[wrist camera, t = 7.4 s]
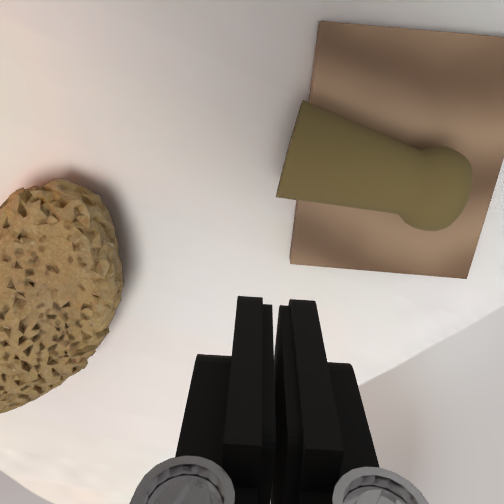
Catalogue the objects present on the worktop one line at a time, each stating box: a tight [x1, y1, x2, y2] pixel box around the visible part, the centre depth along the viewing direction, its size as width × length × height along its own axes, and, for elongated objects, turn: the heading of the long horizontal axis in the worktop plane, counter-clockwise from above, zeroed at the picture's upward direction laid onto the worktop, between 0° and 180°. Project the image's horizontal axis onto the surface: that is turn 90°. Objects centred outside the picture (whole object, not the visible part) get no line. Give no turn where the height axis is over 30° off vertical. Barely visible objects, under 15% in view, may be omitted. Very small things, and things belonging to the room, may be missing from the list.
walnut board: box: [290, 21, 504, 279], centre depth 31 cm, size 16×13×1 cm
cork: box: [276, 100, 473, 231], centre depth 29 cm, size 6×6×11 cm
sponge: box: [0, 179, 124, 413], centre depth 34 cm, size 13×8×20 cm
